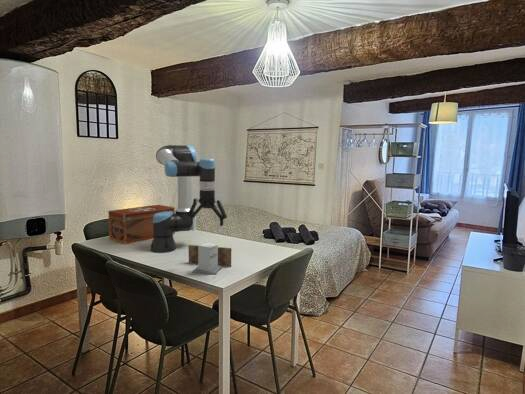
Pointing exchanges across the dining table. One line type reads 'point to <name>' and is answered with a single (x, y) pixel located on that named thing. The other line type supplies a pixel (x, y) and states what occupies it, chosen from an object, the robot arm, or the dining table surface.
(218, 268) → the mat
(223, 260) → the walnut screen
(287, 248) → the dining table surface
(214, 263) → the supplement box
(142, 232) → the wooden box
